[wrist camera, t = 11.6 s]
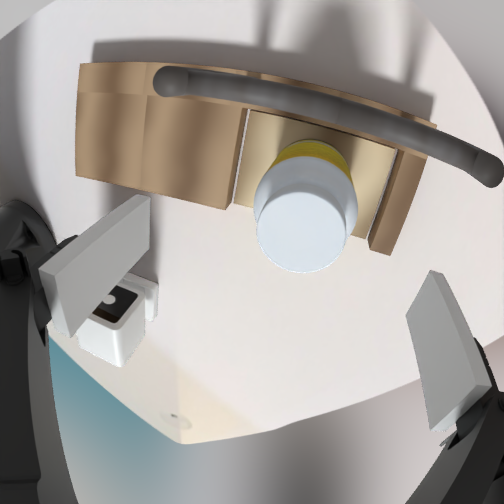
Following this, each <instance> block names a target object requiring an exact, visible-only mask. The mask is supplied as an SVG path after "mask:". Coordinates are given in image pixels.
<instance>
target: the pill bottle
mask: <svg viewBox="0 0 504 504" xmlns="http://www.w3.org/2000/svg"><path fill="white" fill-rule="evenodd" d="M253 208H254V216H255V220H256V223H257V229H256V231H257V238H258V242H259V245H260V247H261V249H262V251H263V252H264V254H265V255H266V256H267V257H268V258H269V259H270V260H271V261H272V262H273V263H274V264H276V265H277V266H279V267H281V268H283V269H285V270H288V271H291V272H296V273H311V272H316V271H319V270H322V269H324V268H326V267H327V266H329V265H330V264H332V263H333V262H334V261H335V260H336V259H337V258H338V256H339V255H340V254H341V252H342V250H343V248H344V245H345V241H346V240H347V239H348V237H349V236H350V234H351V233H352V231H353V229H354V227H355V224H356V221H357V216H358V201H357V196H356V192H355V188H354V185H353V181H352V177H351V174H350V171H349V167H348V164H347V162H346V160H345V158H344V157H343V155H342V154H341V153H340V152H339V151H338V150H337V149H336V148H335V147H334V146H332V145H331V144H329V143H327V142H325V141H322V140H318V139H302V140H298V141H296V142H293V143H291V144H290V145H288V146H287V147H285V148H284V149H283V150H282V151H281V152H280V153H279V155H278V156H277V158H276V159H275V160H274V162H273V163H272V165H271V166H270V167H269V169H268V170H267V172H266V173H265V175H264V176H263V177H262V179H261V181H260V183H259V184H258V187H257V189H256V192H255V196H254V204H253Z"/></svg>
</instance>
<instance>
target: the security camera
mask: <svg viewBox="0 0 504 504" xmlns="http://www.w3.org/2000/svg"><path fill="white" fill-rule="evenodd" d="M158 288H159V285H158V284H157V283H155V282H152V281H150V280H147V279H144V278H142V277H139V276H137V275H134V274H131V273H129V272H127V273H126V274H125V276H124V277H123V278H122V279H121V280H120V281H119V282H118V283H117V284H116V286H115V287H114V288H113V289H112V290H111V291H110V292H109V294H108V295H107V296H106V297H105V298H104V299H103V300H102V302H101V303H100V304H99V305H98V306H97V307H96V309H95V310H94V311H93V312H92V313H91V314H90V316H89V317H88V318H87V319H86V320H85V322H84V323H83V324H82V325H81V326H80V328H79V329H78V330H77V331H76V336H77V340H78V344H79V346H80V348H82V349H84V350H85V351H87V352H89V353H91V354H93V355H95V356H97V357H99V358H101V359H103V360H105V361H107V362H109V363H111V364H113V365H115V366H117V367H123V366H124V365H125V364H126V363H127V361H128V360H129V358H130V357H131V355H132V354H133V352H134V351H135V349H136V348H137V346H138V345H139V343H140V342H141V340H142V339H143V338H144V336H145V319H146V320H148V321H151V322H153V321H154V319H155V318H156V316H157V309H158Z"/></svg>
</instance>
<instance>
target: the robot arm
mask: <svg viewBox="0 0 504 504" xmlns="http://www.w3.org/2000/svg"><path fill="white" fill-rule="evenodd" d="M150 203H151V197H148V196H143V195H139V194H136V195H134V196H133V197H131V198H130V199H129V200H127V201H126V202H124V203H123V204H121V205H120V206H119V207H117V208H116V209H114V210H113V211H111V212H110V213H109V214H107V215H106V216H105V217H103V218H102V219H100V220H99V221H98V222H96V223H95V224H94V225H92V226H91V227H90V228H88V229H87V230H86V231H84V232H83V233H82V234H81V235H79V236H78V235H74V236H72V237H70V238H67V239H65V240H64V241H62V242H61V243H60V244H58V245H57V247H56V244H55V242H54V239H53V237H52V235H51V233H50V231H49V229H48V228H47V226H46V225H45V223H44V222H43V220H42V219H41V217H40V216H39V215H38V214H37V213H36V212H35V211H34V210H33V209H32V208H31V207H30V206H28V205H27V204H25V203H23V202H21V201H17V200H14V201H10V202H8V203H7V204H5V205H3V206H2V207H0V504H78V501H77V499H76V496H75V492H74V489H73V486H72V482H71V479H70V475H69V471H68V468H67V463H66V459H65V455H64V451H63V447H62V442H61V437H60V432H59V426H58V421H57V415H56V409H55V402H54V395H53V387H52V378H51V368H50V356H49V339H48V329H47V326H46V325H47V324H48V322H49V321H50V320H51V319H52V321H53V324H54V328H55V330H56V331H57V332H59V333H61V334H63V335H65V336H67V337H69V338H71V337H72V336H73V335H74V334H75V332H76V331H77V330H78V329H79V328H80V326H81V325H82V324H83V323H84V322H85V320H86V319H87V318H88V317H89V316H90V314H91V313H92V312H93V311H94V310H95V309H96V307H97V306H98V305H99V304H100V303H101V302H102V300H103V299H104V298H105V297H106V296H107V295H108V294H109V292H110V291H111V290H112V289H113V288H114V287H115V286H116V284H117V283H118V282H119V281H120V280H121V279H122V278H123V277H124V276H125V274H126V273H127V272H128V271H129V270H130V269H131V268H132V267H133V266H134V265H135V263H136V262H137V261H138V260H139V259H140V258H141V257H142V256H143V255H144V254H145V253H146V252H147V251H148V250H149V237H150ZM406 319H407V322H408V326H409V330H410V334H411V338H412V342H413V346H414V350H415V354H416V359H417V363H418V368H419V372H420V377H421V382H422V387H423V392H424V397H425V403H426V408H427V414H428V421H429V427H430V431H446V430H448V429H449V428H450V427H451V426H452V425H453V424H454V423H455V422H456V426H457V430H456V431H455V432H454V433H453V434H452V435H450V436H449V437H448V438H447V439H445V440H444V441H443V442H442V443H441V444H440V446H442V445H444V444H445V443H446V445H445V447H444V448H443V450H442V452H441V453H440V455H439V456H438V458H437V460H436V461H435V463H434V464H433V466H432V467H431V469H430V470H429V472H428V473H427V475H426V476H425V478H424V479H423V480H422V482H421V483H420V485H419V486H418V488H417V489H416V490H415V491H414V493H413V494H412V495H411V497H410V498H409V500H408V501H407V502H406V503H405V504H504V392H500V391H499V390H498V387H497V384H496V382H495V379H494V376H493V373H492V370H491V368H490V366H489V363H488V360H487V359H486V355H485V353H484V351H483V348H482V346H481V345H480V344H479V342H478V341H477V340H476V338H474V337H473V335H472V333H471V331H470V328H469V326H468V324H467V322H466V320H465V317H464V315H463V313H462V311H461V309H460V307H459V305H458V302H457V300H456V298H455V296H454V294H453V292H452V290H451V288H450V286H449V284H448V282H447V280H446V279H445V277H444V275H443V274H442V273H439V272H435V271H432V270H430V271H429V273H428V275H427V277H426V279H425V281H424V283H423V285H422V287H421V288H420V290H419V292H418V294H417V296H416V298H415V300H414V301H413V303H412V305H411V307H410V308H409V310H408V312H407V314H406Z"/></svg>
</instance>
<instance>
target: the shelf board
mask: <svg viewBox="0 0 504 504" xmlns="http://www.w3.org/2000/svg"><path fill="white" fill-rule="evenodd" d="M248 109H253V110H258V111H263V112H268V113H273V114H277V115H282V116H286V117H291V118H295V119H299V120H303V121H307V122H311V123H315V124H319V125H323V126H326V127H330V128H334V129H337V130H341V131H344V132H348V133H351V134H354V135H358V136H361V137H364V138H367V139H370V140H373V141H376V142H379V143H382V144H385V145H388V146H391V147H394V148H397V149H398V152H397V156H396V159H395V162H394V165H393V168H392V172H391V175H390V178H389V181H388V184H387V187H386V190H385V193H384V196H383V199H382V201H381V204H380V207H379V210H378V213H377V216H376V218H375V221H374V224H373V226H372V229H371V232H370V234H369V237H368V244H369V248H370V250H372V251H376V252H379V253H382V254H386V255H389V256H390V255H391V253H392V251H393V248H394V246H395V244H396V241H397V239H398V236H399V234H400V232H401V229H402V227H403V224H404V222H405V219H406V217H407V214H408V211H409V209H410V206H411V203H412V201H413V198H414V195H415V193H416V190H417V187H418V184H419V181H420V178H421V175H422V172H423V170H424V166H425V163H426V160H427V157H428V155H429V156H431V157H434V158H436V159H438V160H441V161H443V162H446V163H448V164H450V165H453V166H455V167H457V168H459V169H462V170H464V171H465V172H467V173H468V174H470V175H471V176H473V177H474V178H475V179H477V180H478V181H479V182H481V183H482V184H483V185H485V186H486V187H489V188H494V187H496V186H498V185H499V184H500V183H501V182H502V180H503V177H504V165H503V163H502V161H501V160H500V159H499V158H498V157H496V156H494V155H492V154H490V153H488V152H486V151H484V150H482V149H480V148H478V147H476V146H474V145H471V144H469V143H467V142H465V141H463V140H460V139H458V138H456V137H454V136H451V135H449V134H447V133H444V132H442V131H439V130H437V129H436V127H437V125H436V124H434V123H431V122H429V121H426V120H424V119H421V118H419V117H416V116H414V115H411V114H409V113H406V112H403V111H401V110H398V109H395V108H392V107H390V106H387V105H384V104H381V103H378V102H375V101H372V100H369V99H365V98H362V97H359V96H356V95H352V94H349V93H345V92H342V91H338V90H335V89H331V88H327V87H323V86H319V85H315V84H311V83H307V82H302V81H298V80H293V79H289V78H284V77H279V76H273V75H268V74H262V73H257V72H250V71H244V70H237V69H230V68H222V67H213V66H203V65H192V64H179V63H159V62H101V63H83V64H80V69H79V79H78V91H77V106H76V130H75V168H76V176H79V177H84V178H89V179H93V180H98V181H103V182H107V183H112V184H116V185H121V186H125V187H130V188H134V189H138V190H143V191H147V192H151V193H156V194H160V195H164V196H169V197H173V198H177V199H181V200H185V201H189V202H193V203H198V204H202V205H206V206H210V207H214V208H218V209H222V210H226V208H227V207H228V206H229V205H230V203H231V201H232V195H233V189H234V183H235V177H236V171H237V166H238V160H239V154H240V148H241V143H242V137H243V132H244V126H245V121H246V115H247V110H248ZM277 115H272V114H267V113H262V112H257V111H252V110H250V114H249V119H248V125H247V130H246V136H245V141H244V147H243V152H242V158H241V164H240V169H239V175H238V181H237V187H236V193H235V198H234V204H238V205H242V206H246V207H250V208H253V204H254V196H255V192H256V189H257V187H258V184H259V183H260V181H261V179H262V177H263V176H264V175H265V173H266V172H267V170H268V169H269V167H270V166H271V165H272V163H273V162H274V160H275V159H276V158H277V156H278V155H279V153H280V152H281V151H282V150H283V149H284V148H285V147H287V146H288V145H290V144H291V143H293V142H296V141H298V140H302V139H318V140H322V141H325V142H327V143H329V144H331V145H332V146H334V147H335V148H336V149H337V150H338V151H339V152H340V153H341V154H342V155H343V157H344V158H345V160H346V162H347V164H348V167H349V171H350V174H351V177H352V181H353V185H354V188H355V192H356V196H357V201H358V216H357V221H356V224H355V227H354V229H353V231H352V233H351V234H350V235H353V236H356V237H360V238H363V239H365V238H366V236H367V233H368V230H369V228H370V225H371V222H372V220H373V217H374V214H375V211H376V208H377V206H378V203H379V200H380V197H381V194H382V191H383V188H384V185H385V182H386V179H387V176H388V173H389V170H390V167H391V163H392V160H393V157H394V154H395V149H393V148H391V147H388V146H385V145H382V144H379V143H376V142H373V141H370V140H367V139H363V138H360V137H357V136H354V135H350V134H347V133H344V132H340V131H337V130H333V129H329V128H326V127H322V126H318V125H314V124H311V123H307V122H303V121H298V120H294V119H290V118H286V117H281V116H277Z"/></svg>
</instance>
